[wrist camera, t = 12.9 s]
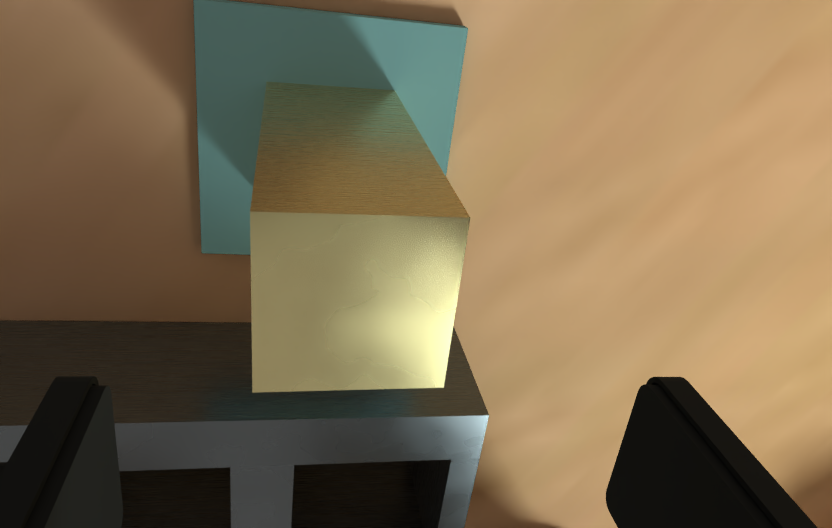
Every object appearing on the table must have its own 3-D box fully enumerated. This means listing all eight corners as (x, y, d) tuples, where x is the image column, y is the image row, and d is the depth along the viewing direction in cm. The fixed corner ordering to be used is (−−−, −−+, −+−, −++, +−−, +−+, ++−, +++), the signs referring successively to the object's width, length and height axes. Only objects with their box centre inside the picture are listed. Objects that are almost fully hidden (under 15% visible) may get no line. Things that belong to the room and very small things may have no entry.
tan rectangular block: (394, 90, 23) (469, 217, 13) (384, 205, 25) (443, 387, 15) (266, 81, 22) (250, 211, 13) (266, 201, 24) (252, 392, 15)
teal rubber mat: (464, 25, 23) (468, 28, 22) (430, 253, 27) (432, 260, 26) (195, -3, 21) (193, -1, 20) (203, 246, 25) (201, 253, 25)
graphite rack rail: (452, 324, 29) (489, 415, 24) (424, 488, 33) (449, 594, 28) (-178, 318, 24) (-308, 432, 19) (-111, 511, 28) (-201, 646, 23)
